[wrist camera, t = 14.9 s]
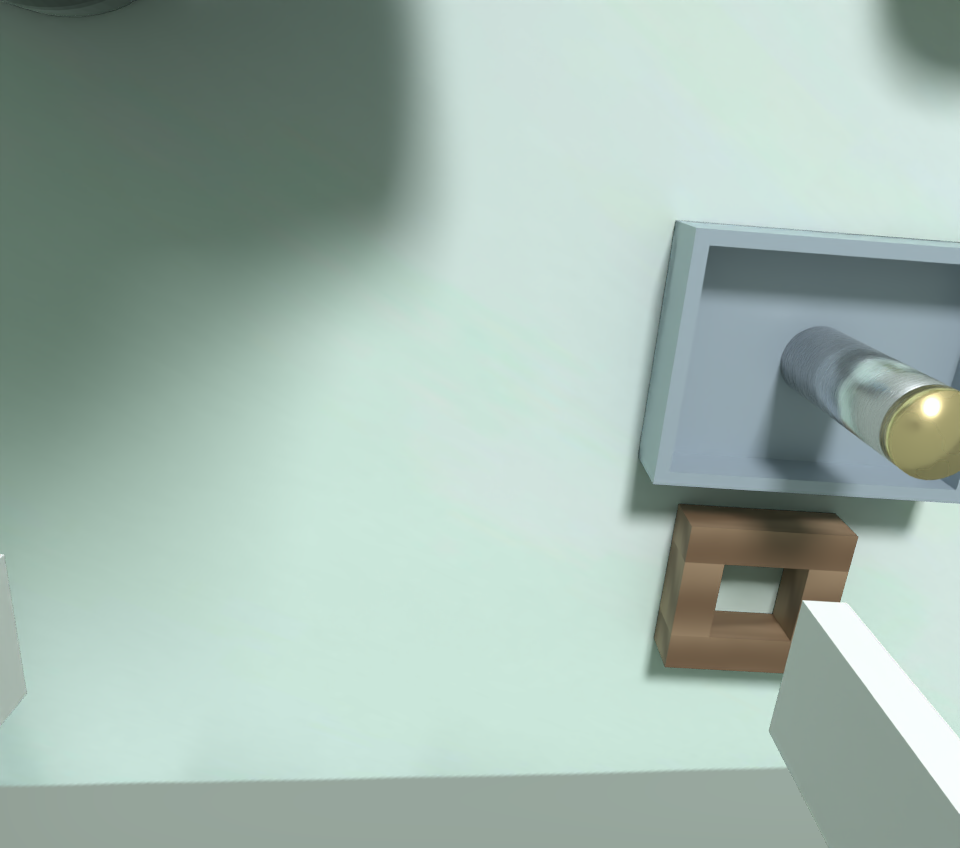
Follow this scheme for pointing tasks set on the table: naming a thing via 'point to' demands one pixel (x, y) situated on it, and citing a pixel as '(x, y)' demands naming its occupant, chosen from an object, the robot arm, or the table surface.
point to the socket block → (746, 542)
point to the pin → (878, 400)
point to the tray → (761, 341)
